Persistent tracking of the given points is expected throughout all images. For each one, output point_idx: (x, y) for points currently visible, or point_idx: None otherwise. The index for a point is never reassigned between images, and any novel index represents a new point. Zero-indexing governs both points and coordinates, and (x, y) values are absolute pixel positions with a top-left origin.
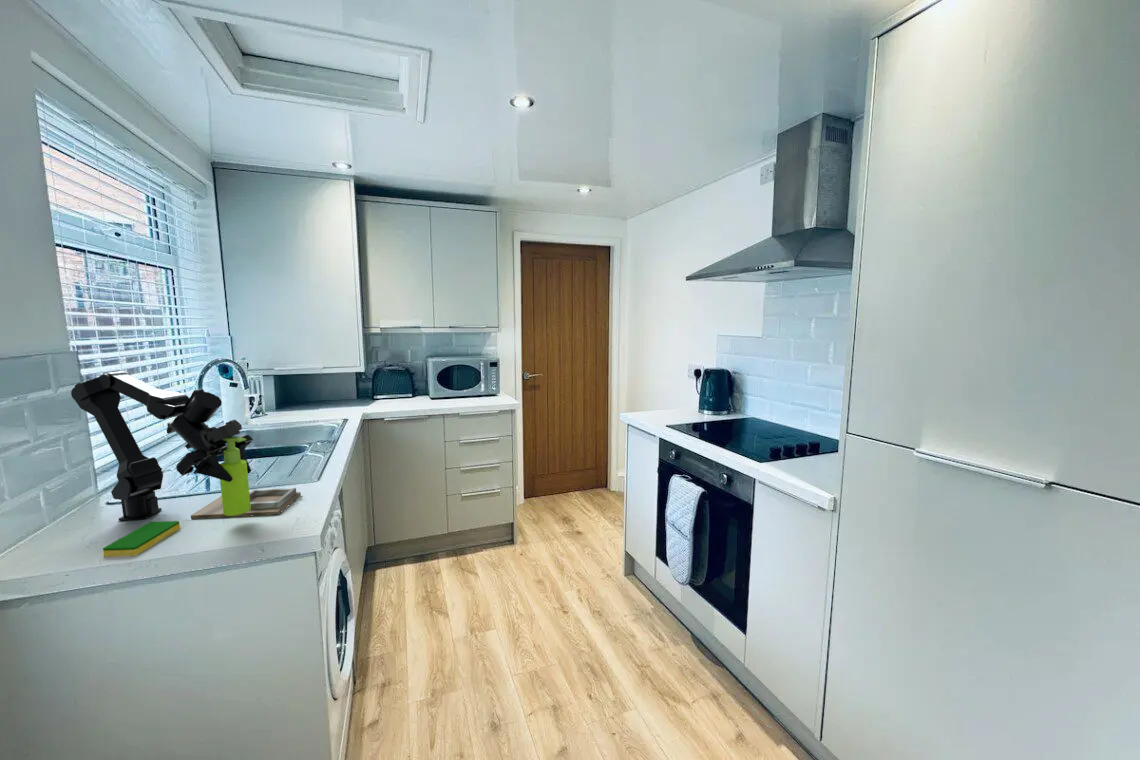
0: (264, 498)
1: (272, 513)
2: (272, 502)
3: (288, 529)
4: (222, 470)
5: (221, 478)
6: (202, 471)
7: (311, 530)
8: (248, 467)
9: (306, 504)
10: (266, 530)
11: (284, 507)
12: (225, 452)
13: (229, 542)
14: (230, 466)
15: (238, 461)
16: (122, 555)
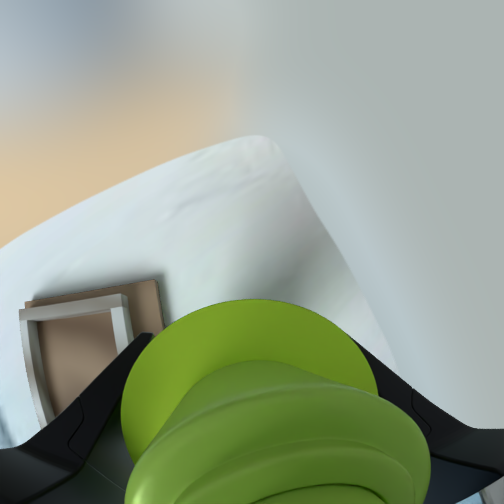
0: (67, 390)
1: (159, 298)
2: (121, 314)
3: (251, 191)
4: (399, 385)
5: None
6: None
7: (251, 140)
8: (140, 349)
9: (86, 244)
10: (264, 245)
11: (116, 287)
12: (419, 498)
13: (341, 294)
14: (362, 360)
15: (263, 359)
16: None
